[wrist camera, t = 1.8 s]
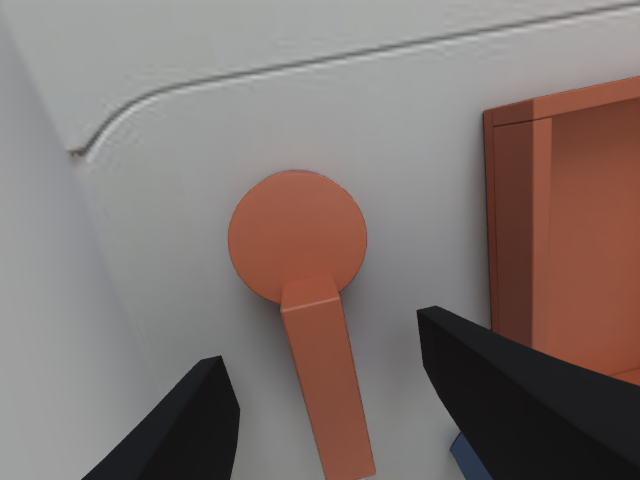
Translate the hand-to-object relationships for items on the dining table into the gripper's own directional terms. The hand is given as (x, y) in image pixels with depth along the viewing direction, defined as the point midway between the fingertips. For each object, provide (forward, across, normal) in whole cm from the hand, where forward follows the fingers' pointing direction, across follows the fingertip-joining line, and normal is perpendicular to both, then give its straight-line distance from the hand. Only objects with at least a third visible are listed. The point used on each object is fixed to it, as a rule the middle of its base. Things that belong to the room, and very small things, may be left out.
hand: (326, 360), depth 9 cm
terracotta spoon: (+1, 0, -1) cm, 2 cm away
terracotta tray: (+1, -10, -1) cm, 10 cm away
